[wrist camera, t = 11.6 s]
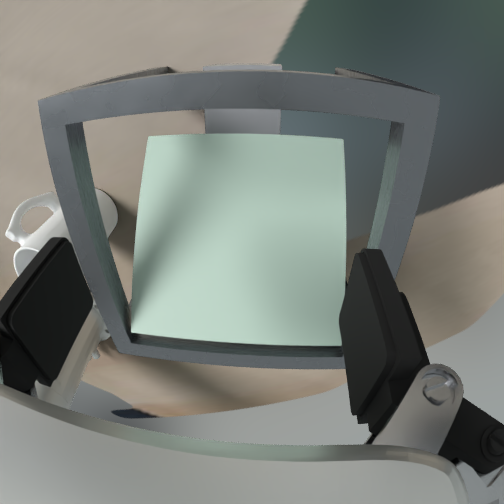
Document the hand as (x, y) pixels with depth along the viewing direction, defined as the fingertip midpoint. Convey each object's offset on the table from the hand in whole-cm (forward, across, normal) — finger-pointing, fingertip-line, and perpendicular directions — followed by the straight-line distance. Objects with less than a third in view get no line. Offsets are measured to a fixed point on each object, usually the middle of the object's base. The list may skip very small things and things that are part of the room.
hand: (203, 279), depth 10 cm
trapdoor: (+10, 0, +5) cm, 12 cm away
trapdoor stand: (+21, 0, +3) cm, 21 cm away
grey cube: (+18, 0, 0) cm, 18 cm away
